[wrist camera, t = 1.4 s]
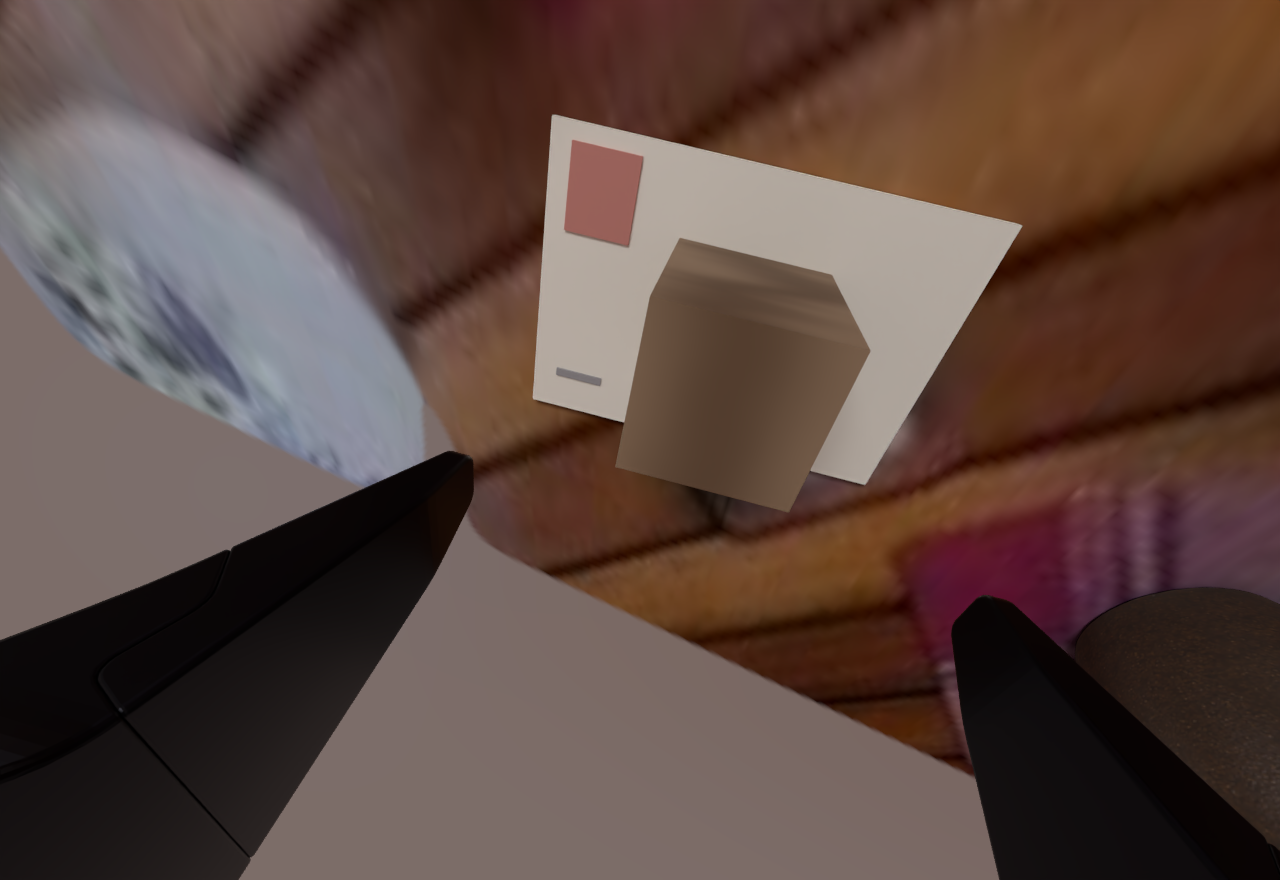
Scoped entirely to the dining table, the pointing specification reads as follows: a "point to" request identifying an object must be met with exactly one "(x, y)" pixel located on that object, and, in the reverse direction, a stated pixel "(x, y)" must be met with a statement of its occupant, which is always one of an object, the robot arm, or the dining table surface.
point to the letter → (756, 225)
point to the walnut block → (739, 374)
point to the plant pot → (1201, 686)
